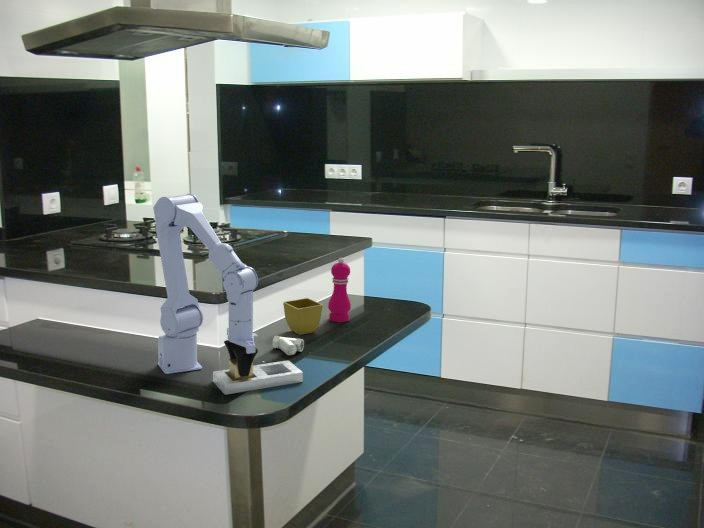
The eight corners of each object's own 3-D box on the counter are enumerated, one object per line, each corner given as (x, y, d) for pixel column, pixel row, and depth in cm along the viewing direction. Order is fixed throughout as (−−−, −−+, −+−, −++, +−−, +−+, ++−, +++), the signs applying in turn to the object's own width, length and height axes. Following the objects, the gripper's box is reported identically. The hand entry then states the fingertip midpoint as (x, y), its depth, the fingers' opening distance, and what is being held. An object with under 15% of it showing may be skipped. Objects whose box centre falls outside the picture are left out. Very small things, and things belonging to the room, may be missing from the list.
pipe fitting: (295, 359, 196) (303, 349, 203) (295, 346, 195) (303, 336, 202) (268, 355, 198) (277, 346, 205) (267, 342, 197) (276, 333, 204)
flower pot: (297, 338, 211) (298, 308, 209) (282, 330, 218) (282, 301, 216) (322, 333, 216) (323, 304, 214) (306, 325, 223) (307, 297, 221)
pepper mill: (325, 316, 233) (326, 255, 229) (346, 315, 235) (348, 255, 231) (331, 323, 226) (333, 260, 222) (353, 322, 229) (355, 260, 224)
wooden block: (234, 389, 174) (234, 365, 172) (228, 382, 177) (228, 359, 176) (252, 386, 176) (252, 362, 174) (246, 379, 180) (246, 356, 178)
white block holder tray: (224, 394, 170) (224, 384, 170) (212, 381, 178) (212, 371, 177) (302, 381, 180) (303, 372, 179) (288, 369, 187) (288, 360, 187)
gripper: (267, 325, 168) (267, 380, 172) (246, 308, 181) (245, 360, 184) (238, 328, 165) (238, 384, 168) (218, 311, 178) (219, 364, 181)
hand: (240, 372), depth 176 cm, fingers closed on wooden block, 4 cm apart
